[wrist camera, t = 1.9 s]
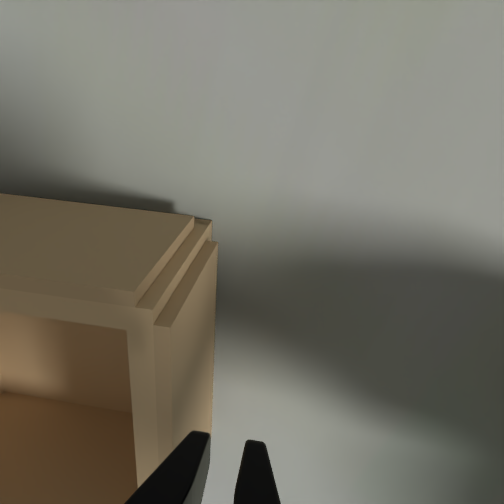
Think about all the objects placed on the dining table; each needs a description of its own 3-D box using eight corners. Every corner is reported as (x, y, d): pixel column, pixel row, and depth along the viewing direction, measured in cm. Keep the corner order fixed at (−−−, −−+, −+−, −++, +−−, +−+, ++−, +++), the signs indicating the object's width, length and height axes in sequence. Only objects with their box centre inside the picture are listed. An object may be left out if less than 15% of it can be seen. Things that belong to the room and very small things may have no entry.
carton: (223, 210, 18) (169, 296, 11) (215, 435, 23) (175, 576, 17) (-51, 179, 19) (-236, 240, 13) (2, 399, 25) (-107, 517, 18)
